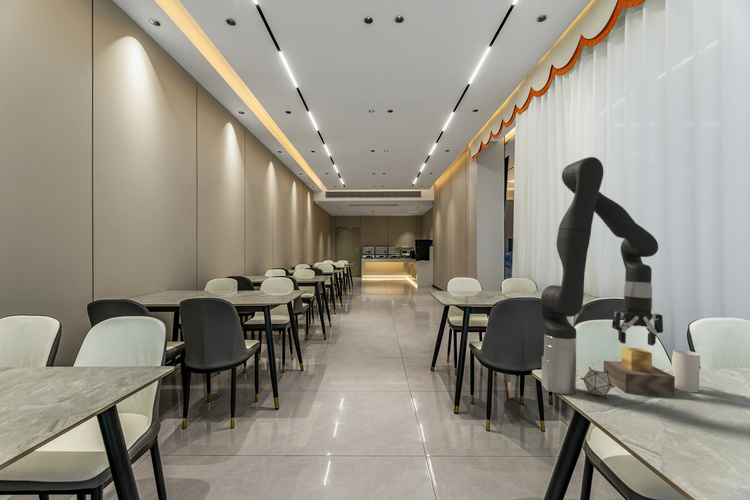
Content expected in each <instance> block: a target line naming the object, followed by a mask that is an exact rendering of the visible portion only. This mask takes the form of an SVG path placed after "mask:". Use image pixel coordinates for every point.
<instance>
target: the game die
mask: <svg viewBox="0 0 750 500" xmlns="http://www.w3.org/2000/svg"><path fill="white" fill-rule="evenodd" d="M608 372H609V370H608V371H606V372H604V371H601V370H595V369H593V368H591V366H588V372H587V373H586V374H585V376H584V377H580V380H583V383H584V385H585V388H586V390H587V392H586V395H589V394H593V395H598V396H602V397H604V399H606V400H607V399H608V398H607V395H608V393H609V392H610V390H611V389H612V388H615V387H616V386H615V385H613V384H612V383H611V382H610V379H609V377H608V374H607V373H608Z"/></svg>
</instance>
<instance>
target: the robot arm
mask: <svg viewBox="0 0 750 500" xmlns="http://www.w3.org/2000/svg"><path fill="white" fill-rule="evenodd" d="M561 172H562V173H561V180H562V182H563V184H564V186H566V188H567V189H568V190H569V191H570V192H571V193H573V194H574V196H573V200H572V202H571V204H570V206H569V207H568V208H567V211H566V212H565V213H564V216H563V217H562V219H561V221H560V223H559V226H558V230H557V235H556V236H557V238H556V250H557V253H558V257H559V260H560V262H561V265H562V279H561V285H554V284H552V285H548V286H547V287H545V288H544V289H543V291H542V293H541V297H540V315H541V316H540V317H541V327H543V332H544V333H543V335H544V336H543V356H541V386H543V388H544V389H545V390H546V391H547V392H550V393H551V392H552V393H554V394H555V393H556V394H560V395H574V394H576V392H577V329H576V327H575V326H573V325H572V324H571V323H570V321H568V318H567V317H575V316H577V315H578V314H579V313H580V311H581V310H582V307H583V303H584V295H585V294H584V293H585V292H584V291H585V290H584V288H585V273H586V272H585V271H586V264H587V256H588V250H589V246H590V239H591V234H592V225H593V219H594V215H595V214H597V216H598V218H600V219H601V220H602V221H603V223H604V224H605V225H606V227H607V229H609V230H610V231H611V233H612V234H613V235H614V236H615V237H617V238H620V239H623V240H622V242H621V244H620V255H621V258H622V262H623V265H624V269H625V280H624V281H625V282H624V289H623V312H620V311H617V310H614V311H613V313H612V314H613V315H612V323H611V328H612V329H614V330H616V331H617V333H618V337H617V339H618V341H619V342H620V344H626V343H627V341H626V339H627V333H626V331H627V330H628V329H630V328H631V327H632V326H633V327H643V328H645V329H646V331H647V332H648V333H647V345H649V346H655V345H656V343H657V337H656V336H657V334H659V333H661V334H662V333H663V332H664V324H663V322H664V320H663V315H662V314H660V313H652V310H653V287H652V274H653V272H652V267H651V266H650V265H649V264H645V263H643V259H642V258H649V257H652V256H654V255H656V254H657V253H658V251H659V243H658V241H657V239H656V238H655V237H654V235H653V234H651V233H650V232H649V231H648V230H646V229H645V228H643V226H641V225H639V224H638V223H636V222H635V220H634V218H632V216H631V214H629V212H628V211H627V210H626V209H625V208H624V207H623V206H621V204H619V203H618V202H616V201H614V200H612V199H611V198H609V197H607V196H606V195H604V194H603V193H601V192H600V189H601V186H602V183H603V179H604V172H605V171H604V165H603V164H602V162H601V160H600V159H599V158H597V157H594V156H589V157H584V158H582V159H580V160H577V161H575V162H573V163H570V164H568V165H566V166H565V167H564V168H563V170H562V171H561ZM622 318H624V319H623V320H622ZM621 320H622V322H621ZM651 320H653V324H652V322H650V321H651ZM552 390H553V391H552Z"/></svg>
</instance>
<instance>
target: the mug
mask: <svg viewBox="0 0 750 500" xmlns="http://www.w3.org/2000/svg"><path fill="white" fill-rule="evenodd" d="M700 364H701V354H700V353H698V352H695V351H692V350H691V351H689V350H683V349H674V350H672V356H671V369H672V372H673V373H672V376H674V377H675V390H676V389H677V390H679V391H681V392H685V393H693V394H694V393H695V394H696V393H697V394H698V393H699V392H700V373H701V372H700V370H701V368H700V367H701V365H700Z"/></svg>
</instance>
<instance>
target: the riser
mask: <svg viewBox="0 0 750 500" xmlns="http://www.w3.org/2000/svg"><path fill="white" fill-rule="evenodd" d="M608 370H609V372H608V373H607V374H608V377H609V379H610V382H611V384H612V386H615V387H617V388H618V389H620V390H621V391H623V392H624V393H625V394H636V393H638V394H637V395H639V394H641V395H651V396H652V395H653V396H668V397H675V395H676V394H675V392H676V388H675V377H674V376H673V374H670V373H668V372H666V371H664V370H662V369H660V368H658V367H655V366H654V365H652V372H649V371H633V370H630V369H628V368H626V367H625V366H623V365H622V361H616V360H615V361H611V360H610V361H609V360H603V372H606V371H608Z"/></svg>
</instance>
